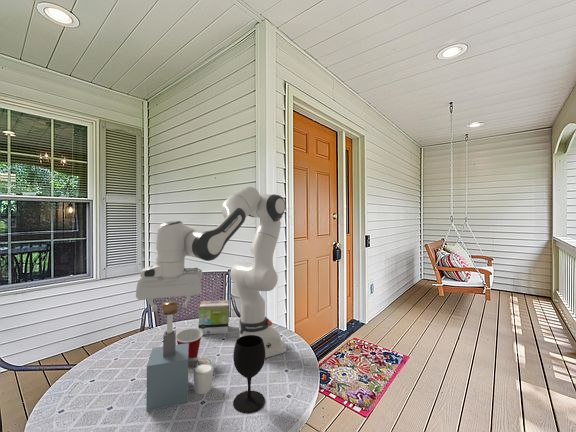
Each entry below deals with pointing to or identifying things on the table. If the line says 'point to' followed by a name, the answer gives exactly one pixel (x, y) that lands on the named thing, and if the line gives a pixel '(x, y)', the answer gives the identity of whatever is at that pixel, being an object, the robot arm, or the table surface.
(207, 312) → the tea box
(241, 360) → the wine glass
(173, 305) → the pump plunger
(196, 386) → the shot glass
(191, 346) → the plastic cup
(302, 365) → the table surface
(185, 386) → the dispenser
